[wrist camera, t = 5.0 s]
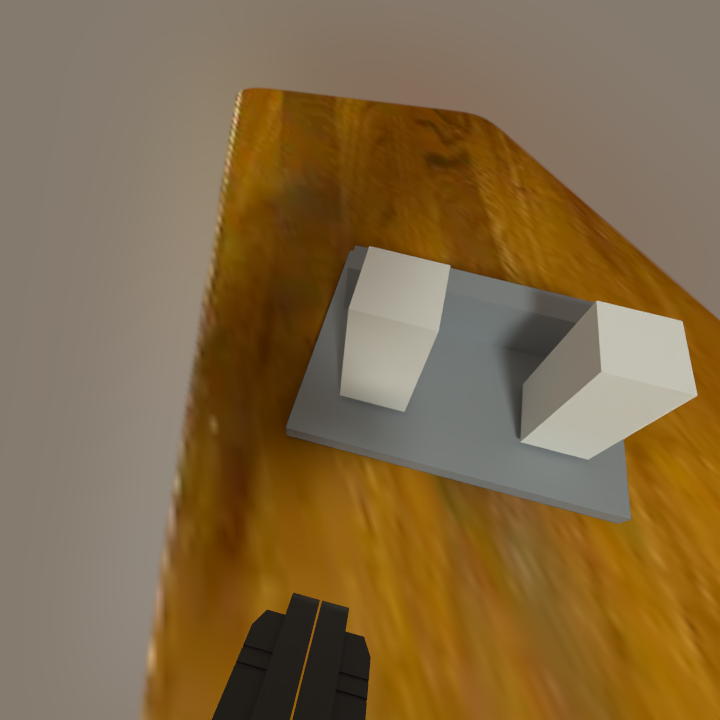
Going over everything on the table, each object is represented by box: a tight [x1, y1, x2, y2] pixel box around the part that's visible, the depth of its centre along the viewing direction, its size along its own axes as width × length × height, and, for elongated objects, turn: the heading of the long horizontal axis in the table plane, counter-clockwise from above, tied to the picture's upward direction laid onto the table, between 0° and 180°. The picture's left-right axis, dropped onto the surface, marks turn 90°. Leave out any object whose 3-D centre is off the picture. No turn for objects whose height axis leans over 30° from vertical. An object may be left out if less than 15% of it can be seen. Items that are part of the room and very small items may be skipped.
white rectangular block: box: [520, 301, 697, 460], centre depth 22 cm, size 4×4×8 cm
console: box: [286, 245, 631, 523], centre depth 27 cm, size 15×20×5 cm
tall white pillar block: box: [340, 246, 450, 412], centre depth 23 cm, size 4×4×8 cm
